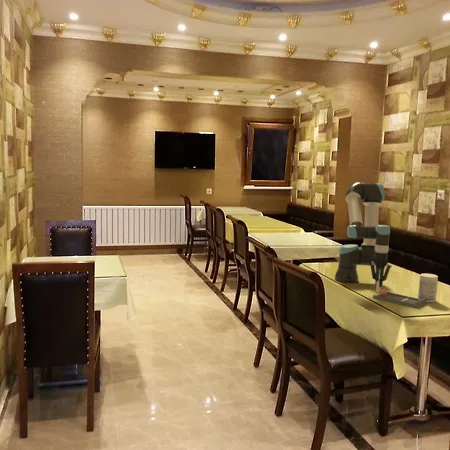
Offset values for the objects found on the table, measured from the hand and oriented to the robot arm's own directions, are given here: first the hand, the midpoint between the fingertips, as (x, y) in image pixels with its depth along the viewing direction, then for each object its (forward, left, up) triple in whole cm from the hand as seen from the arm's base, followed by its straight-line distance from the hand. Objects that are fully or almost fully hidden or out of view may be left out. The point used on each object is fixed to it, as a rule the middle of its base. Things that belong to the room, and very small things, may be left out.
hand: (378, 291), depth 278 cm
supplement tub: (+23, +13, -3) cm, 27 cm away
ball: (+3, 0, 0) cm, 3 cm away
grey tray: (+12, 0, -2) cm, 12 cm away
